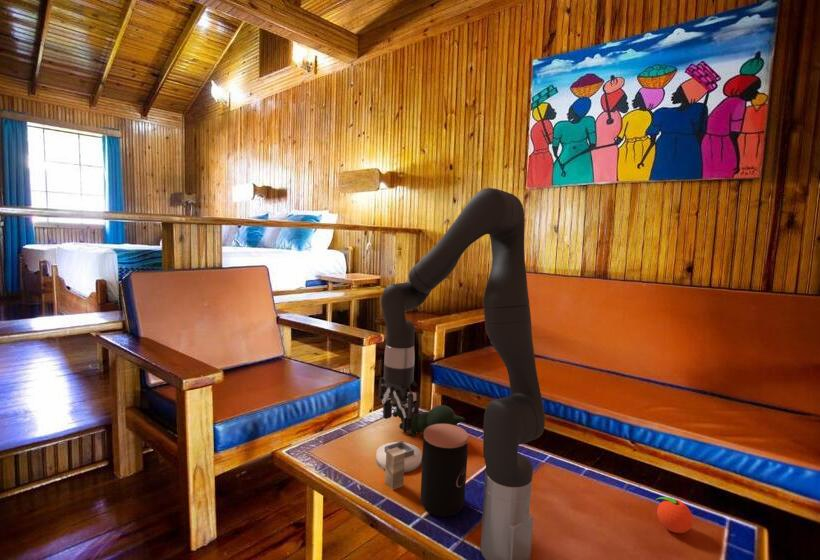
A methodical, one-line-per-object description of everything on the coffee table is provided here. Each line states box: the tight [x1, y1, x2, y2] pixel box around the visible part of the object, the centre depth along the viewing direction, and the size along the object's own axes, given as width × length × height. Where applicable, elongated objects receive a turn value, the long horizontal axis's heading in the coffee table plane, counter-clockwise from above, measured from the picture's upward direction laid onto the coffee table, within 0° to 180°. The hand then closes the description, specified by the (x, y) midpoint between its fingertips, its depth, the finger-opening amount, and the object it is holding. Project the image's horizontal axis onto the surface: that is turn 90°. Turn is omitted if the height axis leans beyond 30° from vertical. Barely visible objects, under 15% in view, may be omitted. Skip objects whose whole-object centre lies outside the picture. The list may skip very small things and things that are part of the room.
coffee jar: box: [419, 424, 469, 518], centre depth 104 cm, size 11×11×18 cm
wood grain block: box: [384, 447, 405, 491], centre depth 111 cm, size 3×3×9 cm
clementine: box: [655, 496, 694, 534], centre depth 99 cm, size 8×7×7 cm
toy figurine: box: [391, 380, 466, 440], centre depth 138 cm, size 9×19×25 cm
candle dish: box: [375, 440, 423, 473], centre depth 124 cm, size 13×13×4 cm
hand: (396, 424), depth 110 cm, fingers open, 8 cm apart
